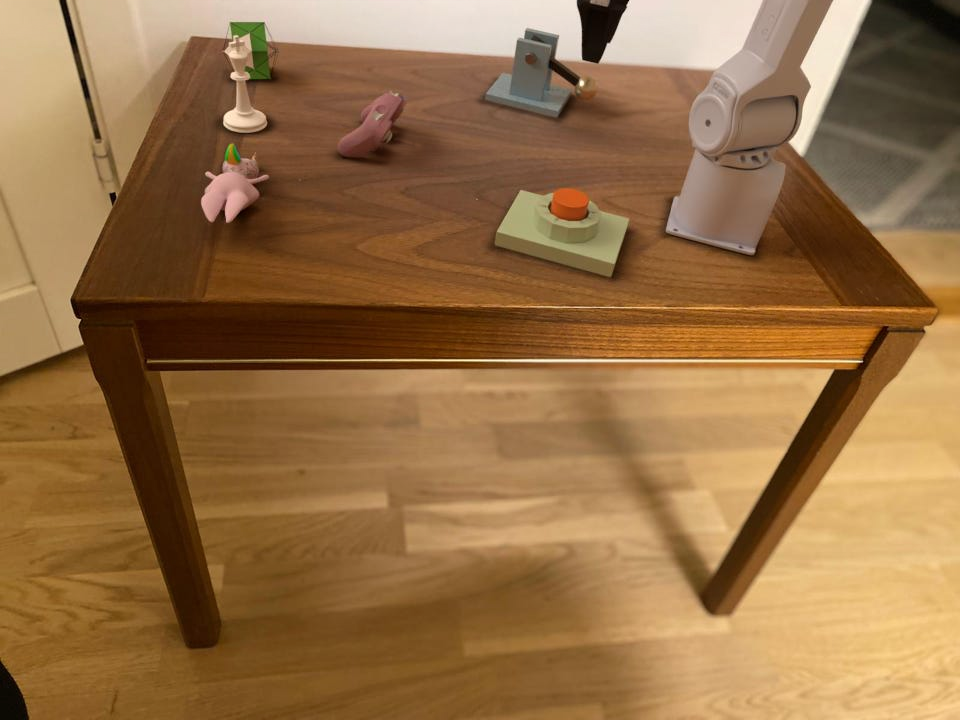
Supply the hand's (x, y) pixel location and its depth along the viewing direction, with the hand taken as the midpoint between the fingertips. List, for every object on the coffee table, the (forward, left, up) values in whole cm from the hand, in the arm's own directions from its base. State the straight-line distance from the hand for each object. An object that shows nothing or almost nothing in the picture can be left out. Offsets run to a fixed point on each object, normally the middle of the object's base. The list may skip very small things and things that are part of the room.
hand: (596, 50), depth 92 cm
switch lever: (+5, -2, -6) cm, 8 cm away
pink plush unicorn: (+28, +38, -9) cm, 48 cm away
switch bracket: (+8, -2, -9) cm, 12 cm away
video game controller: (+21, +20, -9) cm, 30 cm away
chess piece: (+36, +23, -9) cm, 44 cm away
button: (-4, +29, -6) cm, 30 cm away
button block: (-4, +29, -9) cm, 30 cm away
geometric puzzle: (+42, +11, -9) cm, 44 cm away
